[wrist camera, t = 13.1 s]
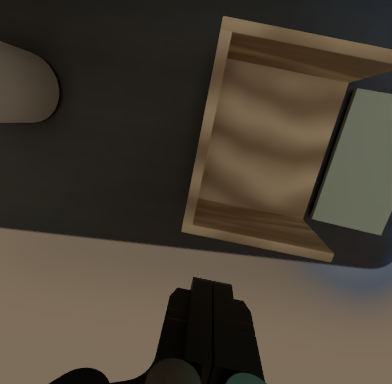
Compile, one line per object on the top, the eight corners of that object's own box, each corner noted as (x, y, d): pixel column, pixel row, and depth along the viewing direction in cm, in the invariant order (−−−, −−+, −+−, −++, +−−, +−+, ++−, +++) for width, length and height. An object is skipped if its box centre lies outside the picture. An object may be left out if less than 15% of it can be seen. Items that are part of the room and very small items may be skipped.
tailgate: (357, 88, 30) (439, 102, 29) (351, 90, 32) (429, 103, 31) (311, 218, 35) (380, 235, 34) (308, 215, 36) (374, 230, 35)
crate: (219, 50, 32) (223, 15, 21) (345, 75, 32) (412, 53, 21) (190, 200, 37) (181, 231, 27) (297, 221, 37) (330, 262, 27)
